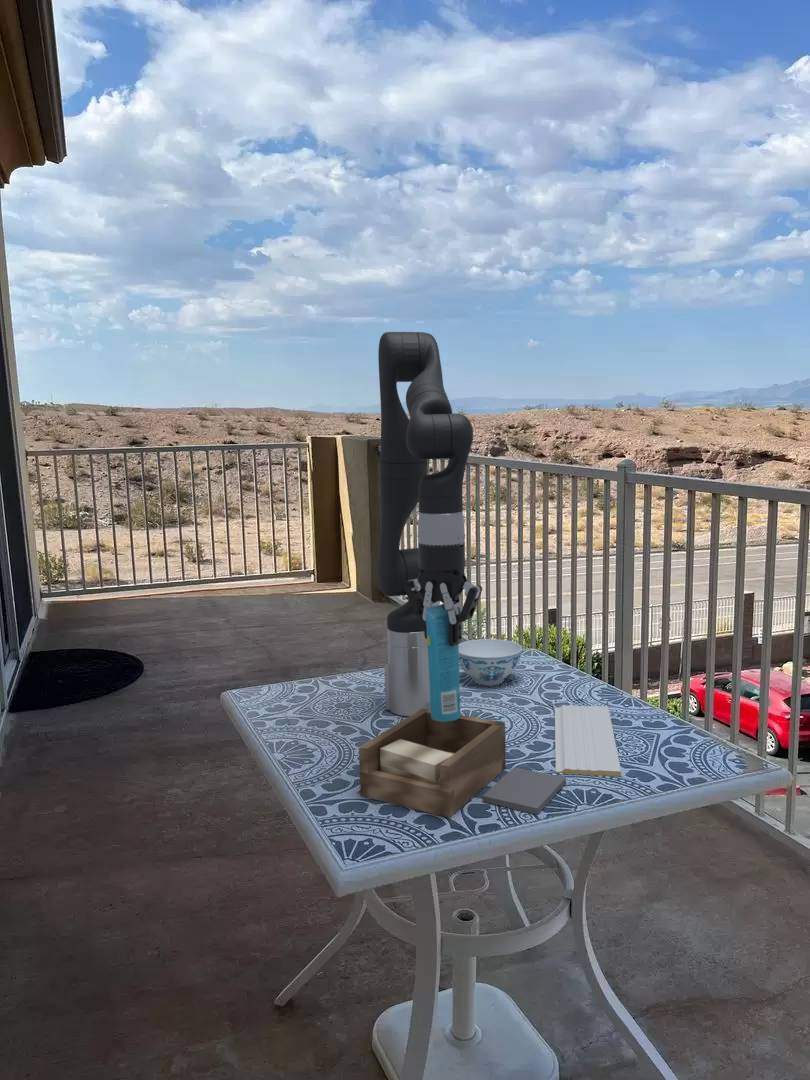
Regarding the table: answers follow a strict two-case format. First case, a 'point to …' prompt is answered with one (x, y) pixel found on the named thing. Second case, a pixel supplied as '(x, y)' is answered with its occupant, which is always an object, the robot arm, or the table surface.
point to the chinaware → (489, 659)
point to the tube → (442, 666)
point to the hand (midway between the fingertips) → (443, 642)
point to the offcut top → (414, 758)
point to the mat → (524, 790)
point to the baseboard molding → (585, 741)
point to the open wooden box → (460, 774)
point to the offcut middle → (406, 774)
